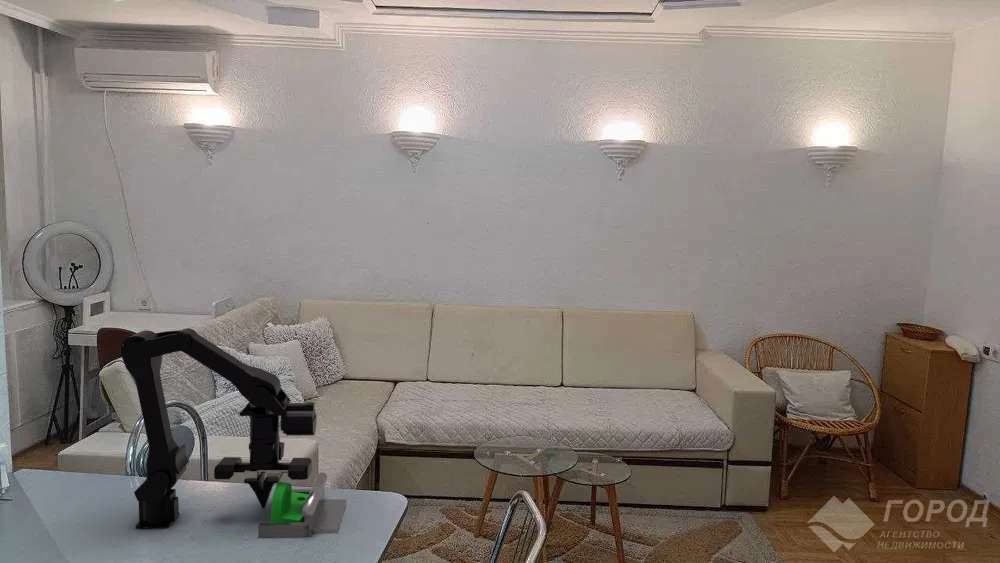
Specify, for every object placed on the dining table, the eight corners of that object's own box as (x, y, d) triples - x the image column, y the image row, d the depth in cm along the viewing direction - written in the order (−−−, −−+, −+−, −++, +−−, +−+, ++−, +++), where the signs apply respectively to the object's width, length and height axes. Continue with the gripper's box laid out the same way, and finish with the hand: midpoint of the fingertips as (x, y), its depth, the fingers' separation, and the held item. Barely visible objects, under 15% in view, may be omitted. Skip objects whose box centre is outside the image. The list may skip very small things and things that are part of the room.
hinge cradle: (258, 537, 138) (257, 506, 137) (277, 500, 155) (277, 472, 154) (336, 536, 140) (336, 506, 139) (347, 499, 156) (347, 472, 156)
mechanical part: (298, 529, 142) (301, 492, 141) (270, 525, 142) (273, 488, 141) (317, 504, 154) (320, 469, 153) (291, 500, 154) (294, 466, 153)
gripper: (317, 423, 153) (316, 492, 155) (229, 423, 151) (230, 492, 153) (307, 440, 142) (306, 514, 144) (213, 439, 140) (213, 514, 142)
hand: (264, 507), depth 146 cm, fingers closed
